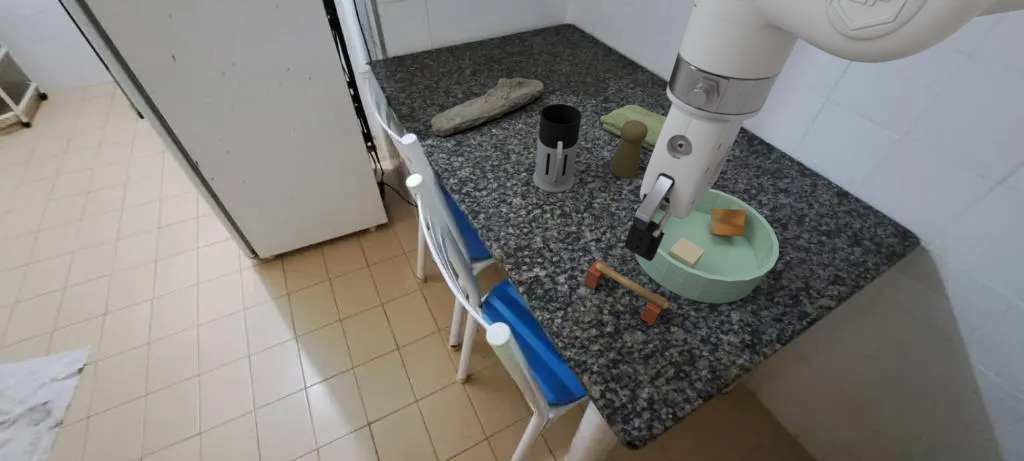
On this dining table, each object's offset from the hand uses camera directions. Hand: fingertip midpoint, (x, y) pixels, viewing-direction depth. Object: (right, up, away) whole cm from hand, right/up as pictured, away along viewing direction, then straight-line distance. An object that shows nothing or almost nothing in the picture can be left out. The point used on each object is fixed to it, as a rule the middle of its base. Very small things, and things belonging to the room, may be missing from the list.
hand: (658, 228), depth 44 cm
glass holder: (-8, +9, +36) cm, 38 cm away
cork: (+8, +13, +41) cm, 44 cm away
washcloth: (+15, +24, +51) cm, 58 cm away
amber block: (+21, -1, +24) cm, 32 cm away
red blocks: (+1, -11, +18) cm, 21 cm away
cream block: (+11, -7, +21) cm, 25 cm away
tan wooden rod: (+1, -8, +14) cm, 17 cm away
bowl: (+16, -4, +25) cm, 29 cm away
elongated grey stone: (-22, +30, +57) cm, 68 cm away
